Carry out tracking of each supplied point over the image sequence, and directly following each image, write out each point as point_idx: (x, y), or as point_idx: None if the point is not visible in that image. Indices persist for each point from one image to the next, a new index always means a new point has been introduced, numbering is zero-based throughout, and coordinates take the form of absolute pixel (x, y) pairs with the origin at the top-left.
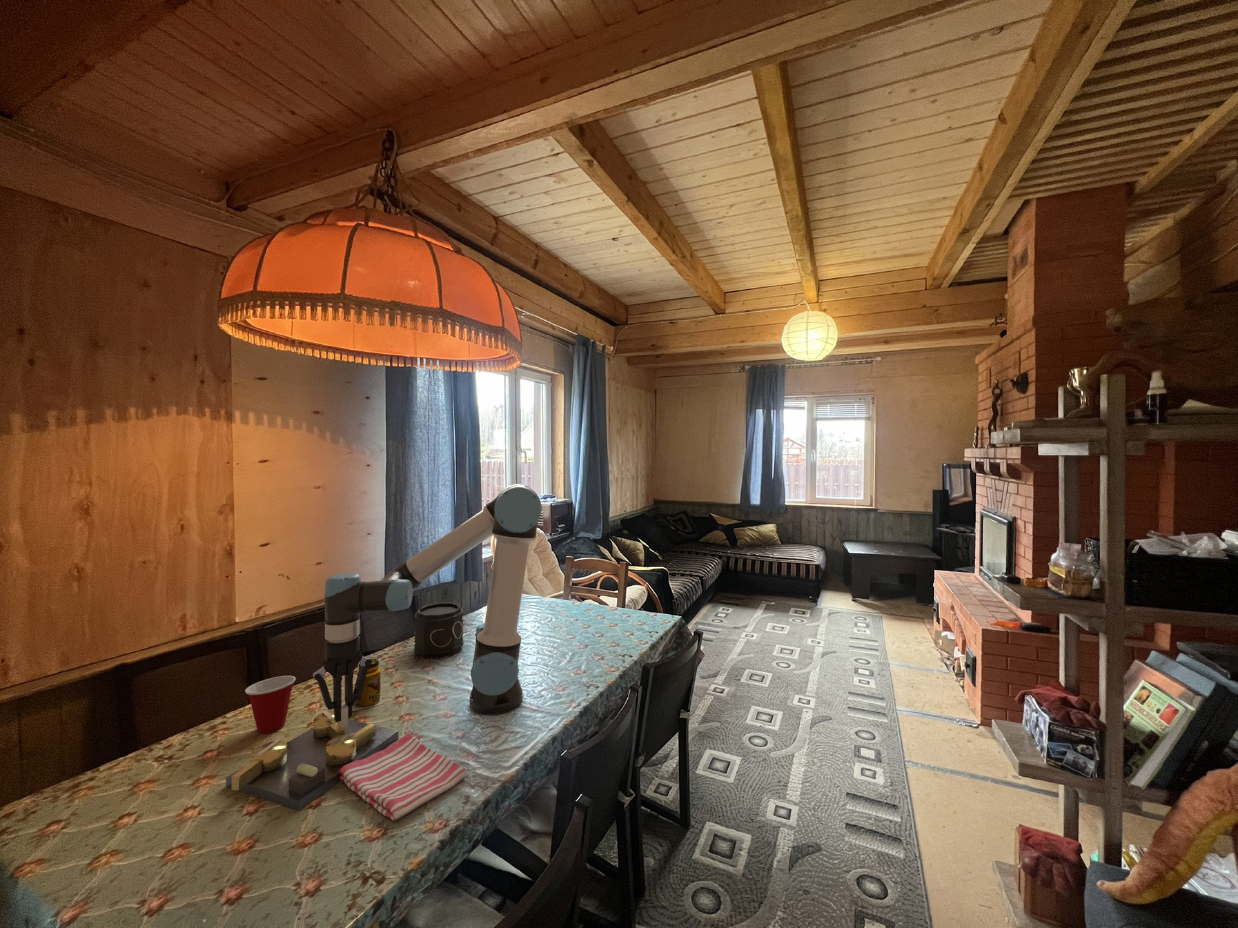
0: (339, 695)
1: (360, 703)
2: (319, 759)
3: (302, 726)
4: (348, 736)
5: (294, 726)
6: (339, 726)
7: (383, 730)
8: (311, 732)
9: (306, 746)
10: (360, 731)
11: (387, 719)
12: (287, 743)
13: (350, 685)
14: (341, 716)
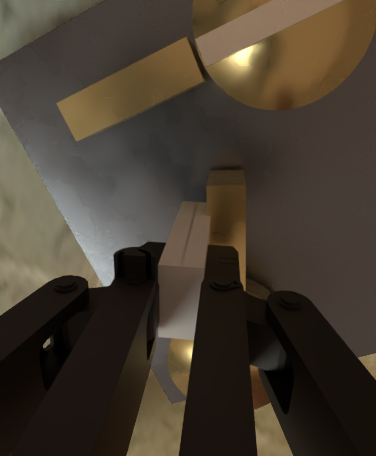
0: (213, 351)
1: None
2: (345, 111)
3: (259, 433)
4: (234, 21)
5: (277, 450)
6: (213, 240)
7: (39, 137)
8: None
9: (334, 269)
10: (144, 86)
11: (13, 265)
12: (372, 346)
13: (72, 402)
14: (206, 247)
